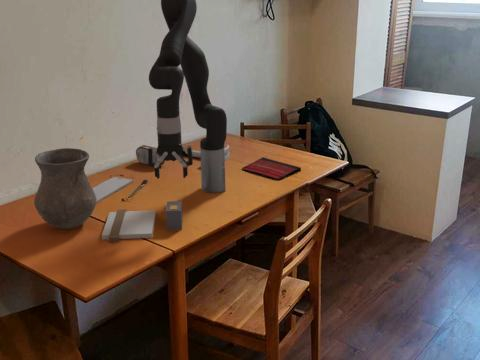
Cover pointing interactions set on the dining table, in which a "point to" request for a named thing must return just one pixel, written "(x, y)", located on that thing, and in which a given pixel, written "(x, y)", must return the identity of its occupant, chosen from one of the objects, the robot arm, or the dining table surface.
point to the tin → (146, 155)
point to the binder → (271, 168)
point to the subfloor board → (129, 225)
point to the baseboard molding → (110, 187)
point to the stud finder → (174, 215)
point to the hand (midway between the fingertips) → (171, 177)
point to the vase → (64, 188)
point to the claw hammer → (198, 153)
